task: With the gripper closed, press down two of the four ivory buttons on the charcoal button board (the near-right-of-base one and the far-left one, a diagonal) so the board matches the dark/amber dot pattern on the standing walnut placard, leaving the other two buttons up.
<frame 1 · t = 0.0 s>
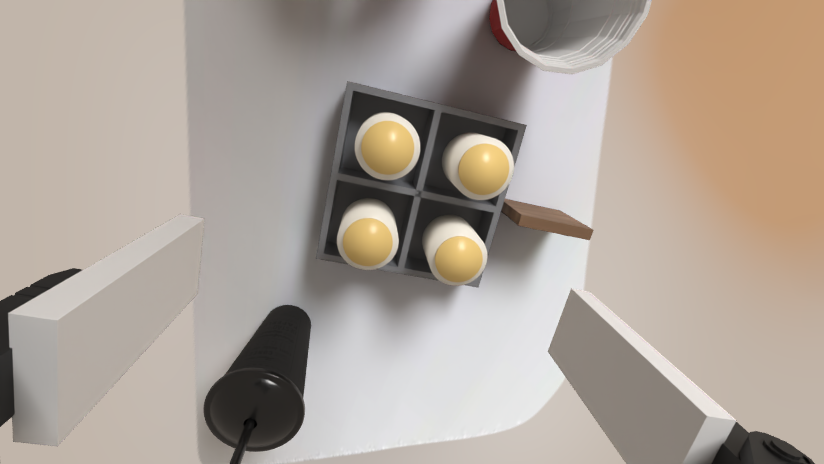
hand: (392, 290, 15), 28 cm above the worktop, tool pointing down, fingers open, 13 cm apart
button B: (476, 164, 35), point 7 cm above the worktop, slide at 0.0 cm
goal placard: (528, 208, 44), on the worktop
button C: (368, 233, 36), point 7 cm above the worktop, slide at 0.0 cm
plastic cup: (517, 20, 38), on the worktop
button D: (453, 249, 37), point 7 cm above the worktop, slide at 0.0 cm
drinking cup: (288, 323, 46), on the worktop
button A: (386, 144, 34), point 7 cm above the worktop, slide at 0.0 cm
button board: (414, 184, 42), on the worktop
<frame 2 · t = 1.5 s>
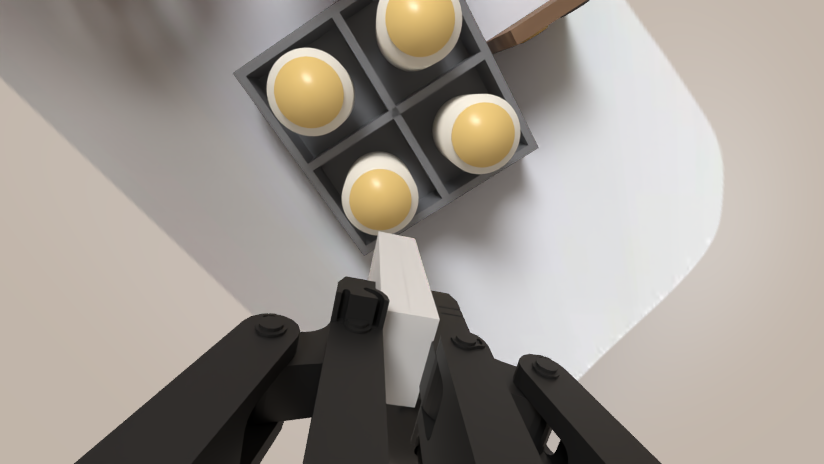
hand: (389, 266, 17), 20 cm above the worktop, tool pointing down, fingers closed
button B: (415, 26, 26), point 7 cm above the worktop, slide at 0.0 cm
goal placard: (523, 25, 33), on the worktop
button C: (379, 191, 29), point 7 cm above the worktop, slide at 0.0 cm
button D: (473, 132, 29), point 7 cm above the worktop, slide at 0.0 cm
drinking cup: (404, 328, 41), on the worktop
button A: (314, 93, 27), point 7 cm above the worktop, slide at 0.0 cm
button board: (391, 110, 34), on the worktop
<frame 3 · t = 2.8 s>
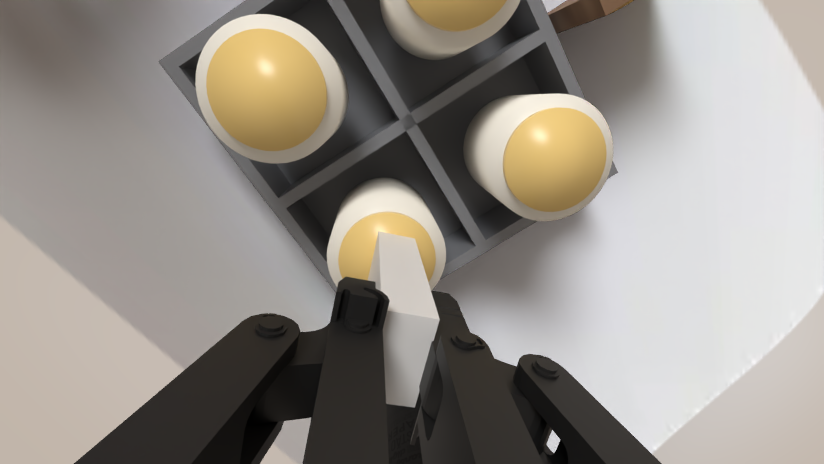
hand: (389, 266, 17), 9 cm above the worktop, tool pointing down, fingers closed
button C: (385, 240, 20), point 6 cm above the worktop, slide at 0.4 cm, touching gripper
button D: (530, 153, 19), point 7 cm above the worktop, slide at 0.0 cm
drinking cup: (416, 405, 31), on the worktop
button A: (283, 93, 17), point 7 cm above the worktop, slide at 0.0 cm
button board: (401, 118, 24), on the worktop
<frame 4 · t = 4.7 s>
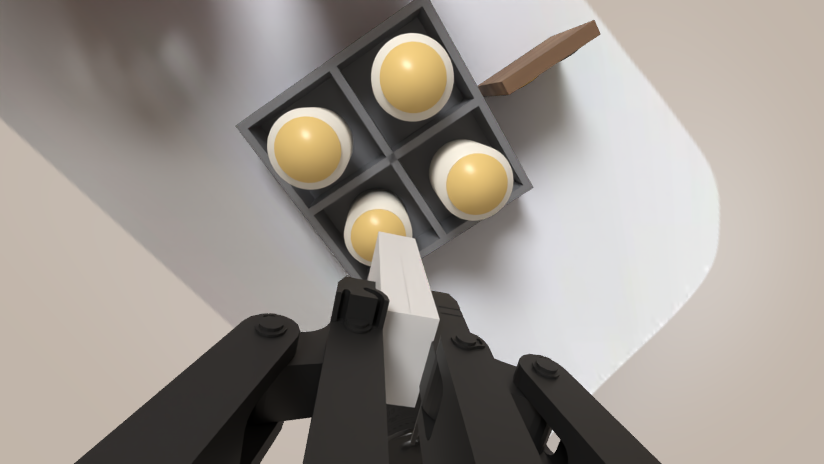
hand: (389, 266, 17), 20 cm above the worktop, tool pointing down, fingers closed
button B: (409, 80, 27), point 7 cm above the worktop, slide at 0.0 cm
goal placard: (516, 67, 34), on the worktop
button C: (378, 226, 33), point 4 cm above the worktop, slide at 2.6 cm
button D: (468, 178, 29), point 7 cm above the worktop, slide at 0.0 cm
drinking cup: (406, 359, 42), on the worktop
button A: (313, 146, 28), point 7 cm above the worktop, slide at 0.0 cm
button board: (389, 151, 35), on the worktop
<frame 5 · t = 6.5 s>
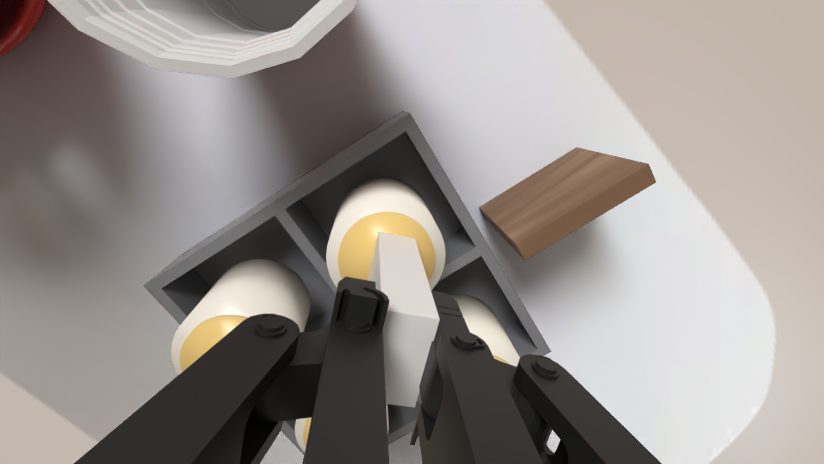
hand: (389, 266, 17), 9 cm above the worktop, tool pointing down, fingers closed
button B: (385, 240, 20), point 6 cm above the worktop, slide at 0.6 cm, touching gripper
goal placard: (530, 184, 26), on the worktop
button C: (344, 400, 24), point 4 cm above the worktop, slide at 2.6 cm
button D: (466, 361, 21), point 7 cm above the worktop, slide at 0.0 cm
button A: (249, 328, 20), point 7 cm above the worktop, slide at 0.0 cm
button board: (364, 286, 27), on the worktop
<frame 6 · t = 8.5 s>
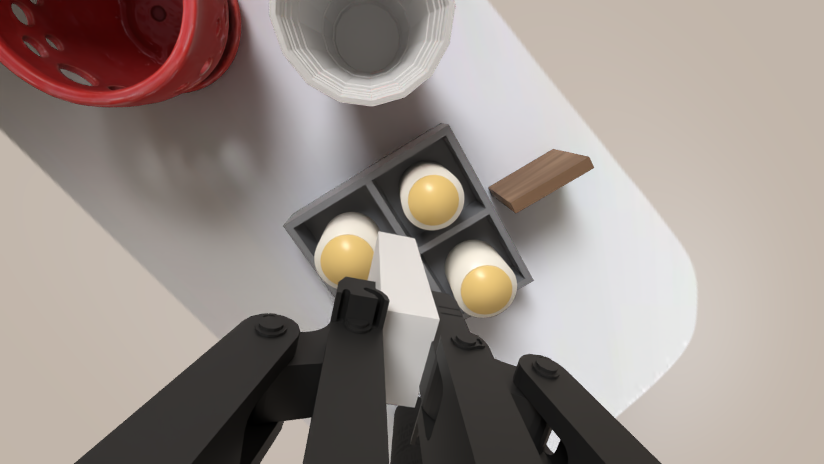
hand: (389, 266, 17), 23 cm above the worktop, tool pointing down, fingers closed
plant pot: (175, 25, 34), on the worktop
button B: (429, 194, 35), point 4 cm above the worktop, slide at 2.6 cm
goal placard: (522, 172, 39), on the worktop
plastic cup: (369, 42, 35), on the worktop
button D: (479, 277, 35), point 7 cm above the worktop, slide at 0.0 cm
drinking cup: (415, 413, 46), on the worktop
button A: (350, 250, 33), point 7 cm above the worktop, slide at 0.0 cm
button board: (410, 239, 40), on the worktop
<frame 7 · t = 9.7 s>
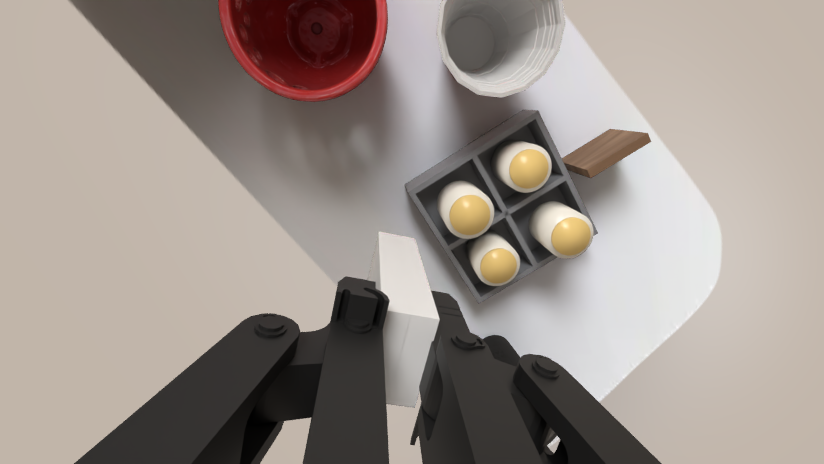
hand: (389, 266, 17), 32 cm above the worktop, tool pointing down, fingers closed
plant pot: (322, 36, 44), on the worktop
button B: (520, 165, 45), point 4 cm above the worktop, slide at 2.6 cm
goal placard: (585, 148, 49), on the worktop
button C: (492, 257, 48), point 4 cm above the worktop, slide at 2.6 cm
plastic cup: (469, 46, 45), on the worktop
button D: (560, 229, 45), point 7 cm above the worktop, slide at 0.0 cm
drinking cup: (492, 349, 57), on the worktop
button A: (464, 208, 43), point 7 cm above the worktop, slide at 0.0 cm
button board: (495, 204, 50), on the worktop
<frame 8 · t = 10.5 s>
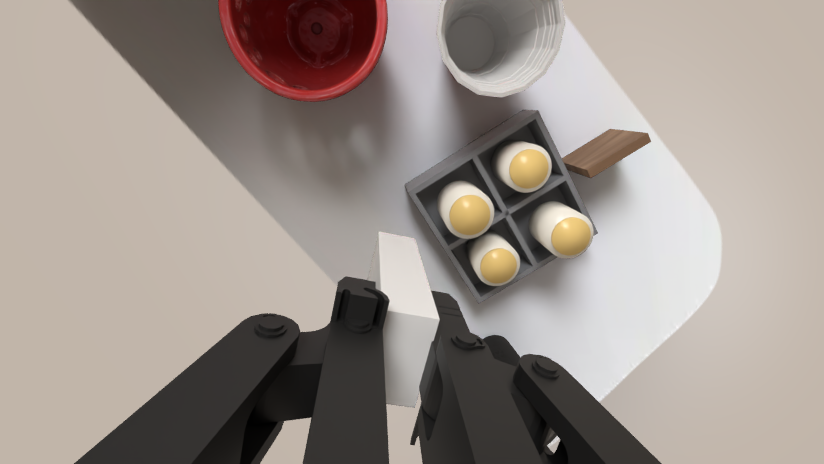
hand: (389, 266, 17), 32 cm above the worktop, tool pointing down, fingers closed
plant pot: (322, 36, 43), on the worktop
button B: (520, 165, 45), point 4 cm above the worktop, slide at 2.6 cm
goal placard: (585, 148, 49), on the worktop
button C: (492, 257, 48), point 4 cm above the worktop, slide at 2.6 cm
plastic cup: (469, 46, 45), on the worktop
button D: (560, 229, 45), point 7 cm above the worktop, slide at 0.0 cm
drinking cup: (492, 349, 57), on the worktop
button A: (464, 208, 43), point 7 cm above the worktop, slide at 0.0 cm
button board: (495, 204, 50), on the worktop
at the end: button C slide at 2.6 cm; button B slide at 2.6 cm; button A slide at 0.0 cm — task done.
